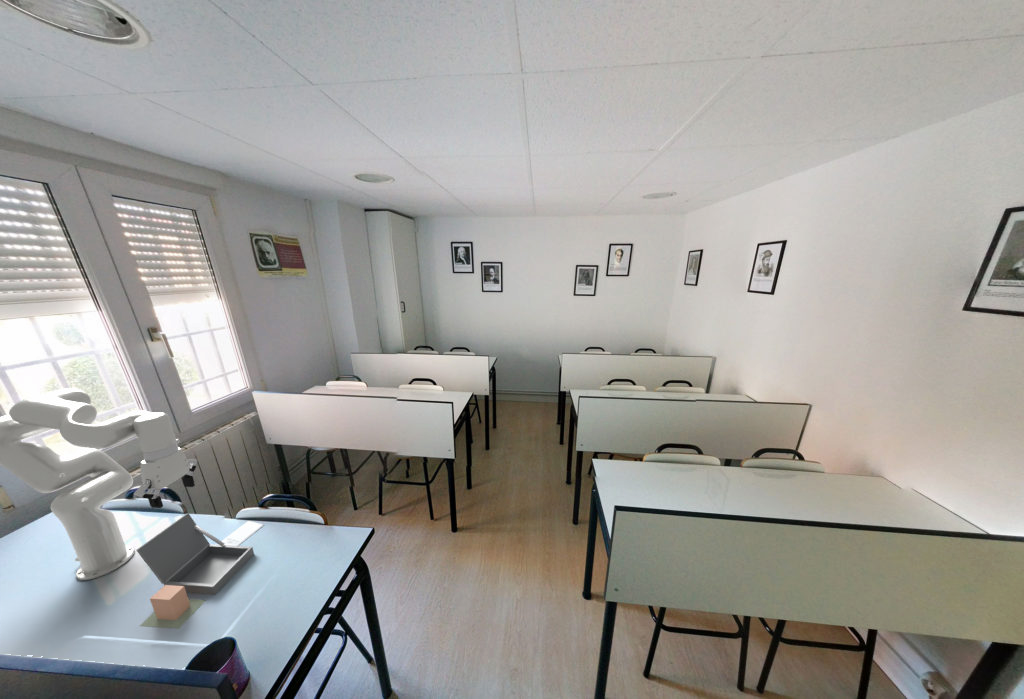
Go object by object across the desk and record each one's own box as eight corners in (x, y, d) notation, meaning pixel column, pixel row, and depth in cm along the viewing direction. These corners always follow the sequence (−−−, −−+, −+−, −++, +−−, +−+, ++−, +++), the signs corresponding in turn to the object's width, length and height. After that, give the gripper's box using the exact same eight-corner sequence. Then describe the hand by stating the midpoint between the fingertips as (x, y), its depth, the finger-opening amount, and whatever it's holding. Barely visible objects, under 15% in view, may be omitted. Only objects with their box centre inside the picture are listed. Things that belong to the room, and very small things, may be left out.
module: (157, 618, 92) (149, 598, 90) (171, 604, 96) (165, 584, 94) (176, 620, 92) (169, 599, 90) (190, 606, 96) (184, 586, 94)
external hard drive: (264, 527, 126) (231, 554, 114) (248, 523, 128) (214, 549, 116) (264, 524, 126) (231, 550, 114) (247, 520, 127) (213, 546, 116)
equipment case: (151, 591, 100) (135, 549, 96) (197, 551, 114) (186, 512, 110) (215, 596, 99) (203, 553, 95) (254, 555, 113) (245, 516, 109)
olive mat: (139, 627, 90) (139, 625, 90) (170, 599, 98) (169, 597, 98) (179, 630, 90) (178, 628, 90) (206, 601, 98) (206, 600, 97)
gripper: (179, 436, 107) (190, 478, 111) (114, 467, 90) (131, 515, 94) (199, 437, 106) (210, 479, 111) (139, 468, 90) (155, 517, 94)
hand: (174, 496), depth 103 cm, fingers open, 9 cm apart
